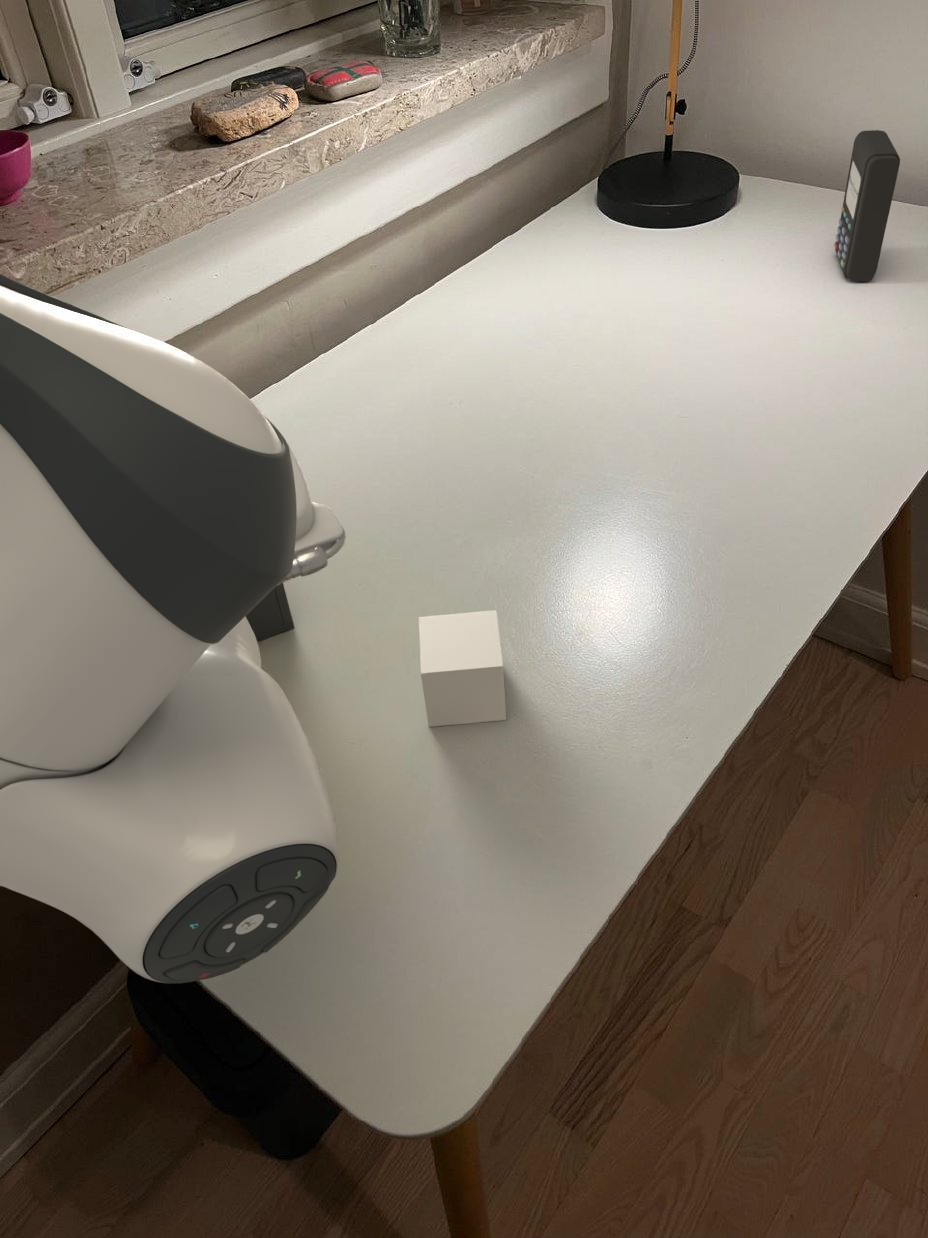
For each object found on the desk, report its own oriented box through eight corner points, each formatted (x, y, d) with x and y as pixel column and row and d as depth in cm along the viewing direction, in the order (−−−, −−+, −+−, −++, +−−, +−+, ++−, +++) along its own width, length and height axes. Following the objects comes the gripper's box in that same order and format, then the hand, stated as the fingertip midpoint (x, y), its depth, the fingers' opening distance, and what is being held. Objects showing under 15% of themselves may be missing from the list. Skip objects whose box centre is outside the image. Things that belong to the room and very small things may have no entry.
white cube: (425, 670, 83) (418, 616, 79) (500, 664, 83) (496, 609, 79) (428, 727, 79) (420, 673, 74) (506, 720, 79) (503, 665, 74)
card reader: (830, 251, 132) (852, 127, 121) (862, 250, 131) (887, 126, 121) (841, 284, 125) (866, 156, 115) (876, 283, 125) (903, 155, 114)
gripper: (349, 496, 45) (252, 361, 54) (-145, 668, 39) (-160, 484, 49) (369, 602, 49) (276, 460, 59) (-74, 770, 44) (-100, 584, 53)
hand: (75, 472), depth 54 cm, fingers open, 8 cm apart
